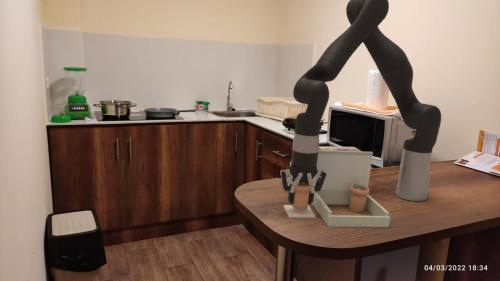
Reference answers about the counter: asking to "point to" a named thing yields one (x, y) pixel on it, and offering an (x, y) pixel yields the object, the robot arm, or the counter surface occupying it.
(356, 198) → the clay pot
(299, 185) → the clay pot
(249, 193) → the counter surface
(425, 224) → the counter surface
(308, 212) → the tile
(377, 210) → the cold frame
